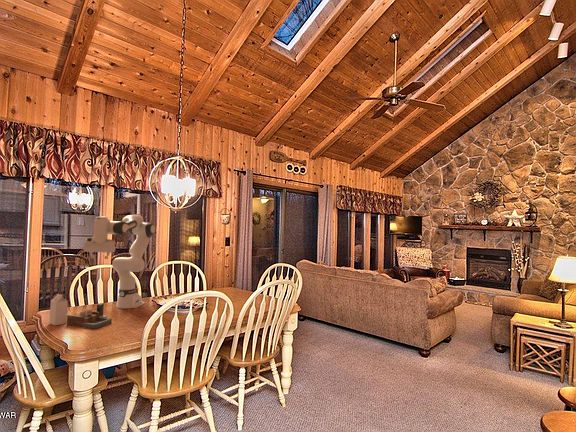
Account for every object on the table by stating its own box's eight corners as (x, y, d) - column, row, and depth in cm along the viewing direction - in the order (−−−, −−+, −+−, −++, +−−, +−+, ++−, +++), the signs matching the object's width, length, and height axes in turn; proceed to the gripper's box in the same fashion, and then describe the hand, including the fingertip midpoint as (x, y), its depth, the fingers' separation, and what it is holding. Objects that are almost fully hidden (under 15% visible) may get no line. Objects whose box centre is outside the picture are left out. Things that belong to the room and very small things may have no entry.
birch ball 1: (82, 316, 228) (83, 309, 228) (87, 316, 227) (88, 310, 227) (77, 317, 224) (78, 311, 224) (82, 318, 223) (83, 312, 223)
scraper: (92, 318, 240) (92, 303, 240) (95, 317, 243) (96, 302, 243) (103, 319, 238) (104, 305, 238) (107, 318, 241) (107, 304, 241)
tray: (98, 321, 233) (99, 317, 233) (111, 323, 231) (111, 318, 231) (81, 327, 220) (82, 322, 220) (94, 329, 217) (95, 324, 217)
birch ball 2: (89, 314, 232) (89, 308, 232) (93, 314, 231) (94, 308, 231) (84, 315, 228) (84, 309, 229) (89, 316, 227) (89, 310, 228)
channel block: (84, 319, 236) (84, 310, 236) (98, 321, 233) (99, 311, 233) (66, 325, 223) (67, 315, 223) (81, 327, 220) (82, 317, 220)
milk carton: (61, 321, 230) (62, 292, 231) (66, 323, 227) (68, 294, 227) (49, 323, 224) (50, 294, 225) (54, 325, 221) (56, 296, 221)
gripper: (117, 239, 248) (116, 258, 247) (87, 238, 246) (86, 257, 246) (113, 239, 241) (112, 259, 241) (83, 238, 240) (82, 258, 240)
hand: (99, 258), depth 243 cm, fingers open, 8 cm apart
